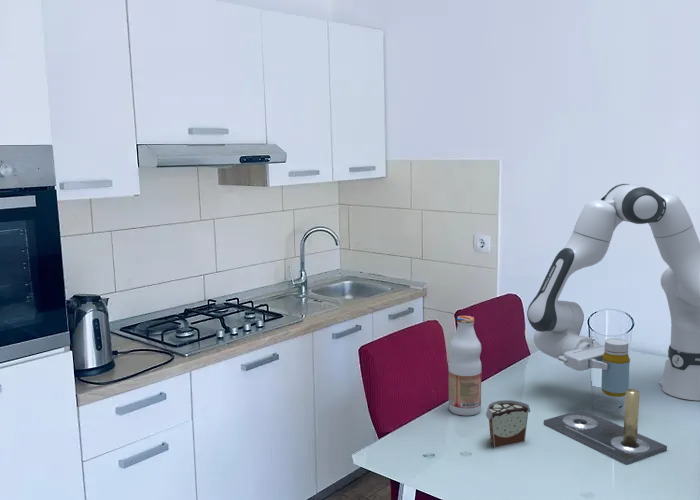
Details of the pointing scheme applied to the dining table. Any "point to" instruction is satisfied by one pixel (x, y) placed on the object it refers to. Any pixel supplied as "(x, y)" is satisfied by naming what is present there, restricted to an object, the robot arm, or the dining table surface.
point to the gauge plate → (609, 432)
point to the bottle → (615, 367)
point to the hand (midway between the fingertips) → (618, 364)
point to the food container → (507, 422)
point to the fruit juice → (465, 369)
